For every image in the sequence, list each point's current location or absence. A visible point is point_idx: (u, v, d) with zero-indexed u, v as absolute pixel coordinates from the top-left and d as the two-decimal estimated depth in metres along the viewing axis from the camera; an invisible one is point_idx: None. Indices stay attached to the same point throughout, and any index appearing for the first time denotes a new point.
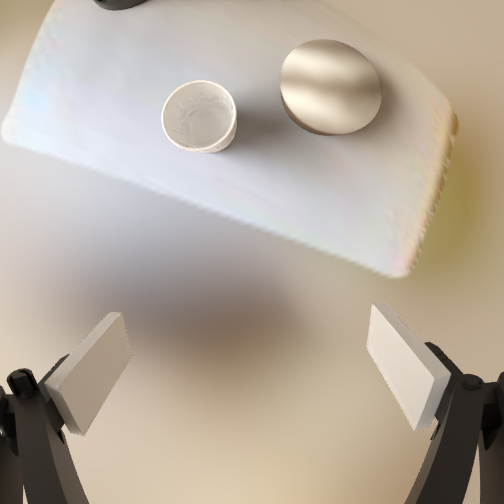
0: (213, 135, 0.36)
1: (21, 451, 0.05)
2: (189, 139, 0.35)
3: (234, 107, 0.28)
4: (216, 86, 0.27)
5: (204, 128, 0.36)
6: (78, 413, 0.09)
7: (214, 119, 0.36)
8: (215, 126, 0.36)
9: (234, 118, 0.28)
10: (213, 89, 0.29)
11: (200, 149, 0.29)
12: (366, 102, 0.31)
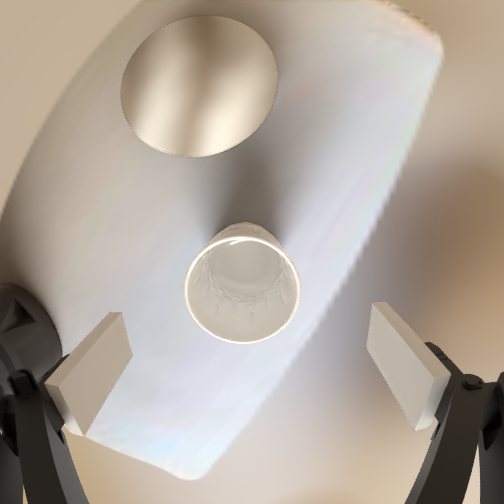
0: (257, 256, 0.28)
1: (21, 451, 0.05)
2: (259, 289, 0.28)
3: (238, 237, 0.19)
4: (197, 261, 0.20)
5: (245, 267, 0.28)
6: (78, 413, 0.09)
7: (234, 252, 0.28)
8: (245, 252, 0.28)
9: (257, 239, 0.19)
10: (198, 262, 0.21)
11: (298, 294, 0.20)
12: (227, 36, 0.19)
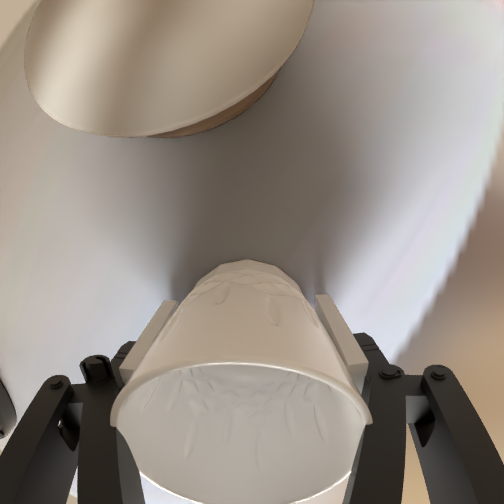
0: None
1: (82, 440, 0.06)
2: (272, 379, 0.15)
3: (226, 361, 0.06)
4: None
5: None
6: None
7: None
8: None
9: (282, 366, 0.06)
10: None
11: None
12: None
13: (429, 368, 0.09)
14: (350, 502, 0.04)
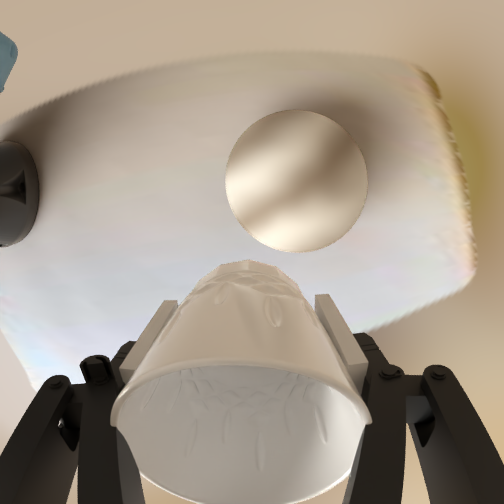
0: None
1: (82, 440, 0.06)
2: (272, 379, 0.15)
3: (227, 362, 0.06)
4: None
5: None
6: None
7: None
8: None
9: (282, 366, 0.06)
10: None
11: None
12: (348, 171, 0.25)
13: (429, 368, 0.09)
14: (350, 502, 0.04)
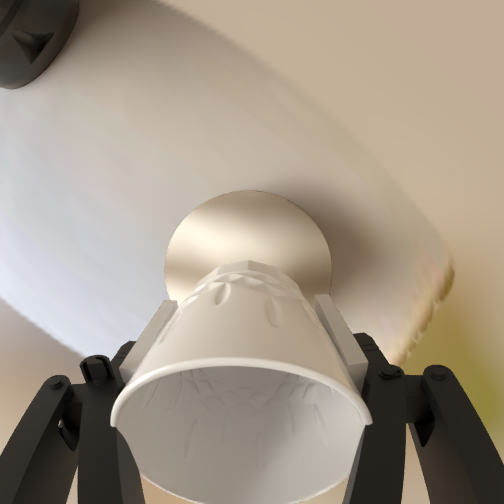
0: None
1: (82, 440, 0.06)
2: (272, 380, 0.15)
3: (227, 362, 0.06)
4: None
5: None
6: None
7: None
8: None
9: (282, 367, 0.06)
10: None
11: None
12: None
13: (429, 368, 0.09)
14: (350, 502, 0.04)
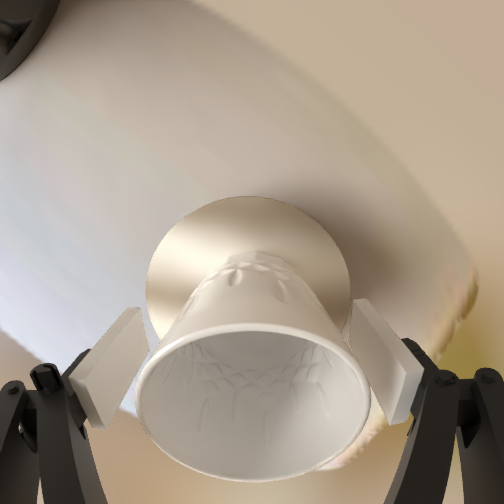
0: None
1: (40, 446, 0.05)
2: (277, 363, 0.16)
3: (245, 328, 0.07)
4: None
5: None
6: (101, 407, 0.09)
7: None
8: None
9: (292, 332, 0.07)
10: None
11: (364, 419, 0.08)
12: None
13: (480, 370, 0.08)
14: None
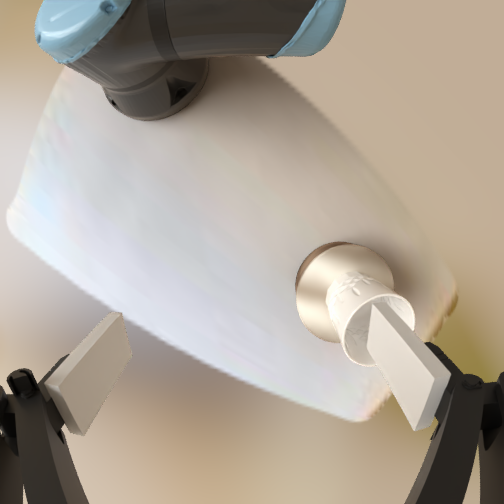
0: None
1: (21, 451, 0.05)
2: (363, 324, 0.33)
3: (387, 295, 0.25)
4: None
5: None
6: (78, 413, 0.09)
7: None
8: None
9: (398, 296, 0.25)
10: None
11: None
12: None
13: None
14: None
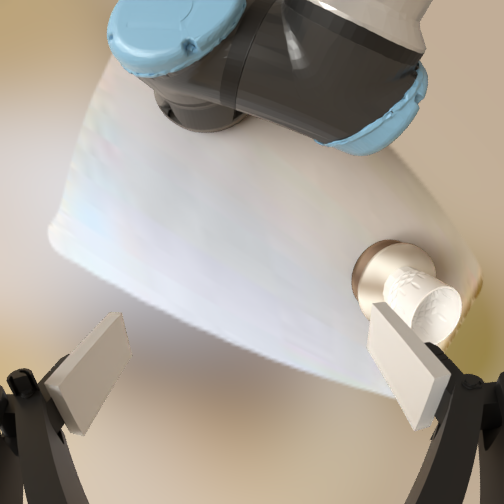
0: None
1: (21, 451, 0.05)
2: (415, 311, 0.37)
3: (442, 287, 0.28)
4: None
5: None
6: (78, 413, 0.09)
7: None
8: None
9: (450, 287, 0.28)
10: None
11: (460, 315, 0.29)
12: None
13: None
14: None
